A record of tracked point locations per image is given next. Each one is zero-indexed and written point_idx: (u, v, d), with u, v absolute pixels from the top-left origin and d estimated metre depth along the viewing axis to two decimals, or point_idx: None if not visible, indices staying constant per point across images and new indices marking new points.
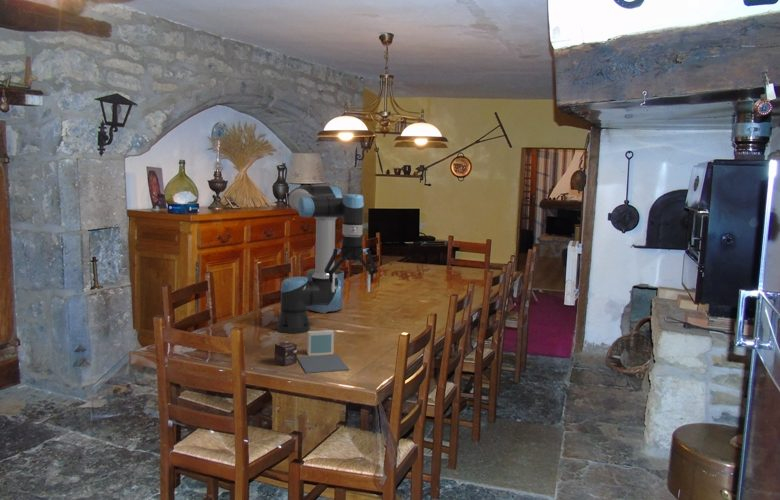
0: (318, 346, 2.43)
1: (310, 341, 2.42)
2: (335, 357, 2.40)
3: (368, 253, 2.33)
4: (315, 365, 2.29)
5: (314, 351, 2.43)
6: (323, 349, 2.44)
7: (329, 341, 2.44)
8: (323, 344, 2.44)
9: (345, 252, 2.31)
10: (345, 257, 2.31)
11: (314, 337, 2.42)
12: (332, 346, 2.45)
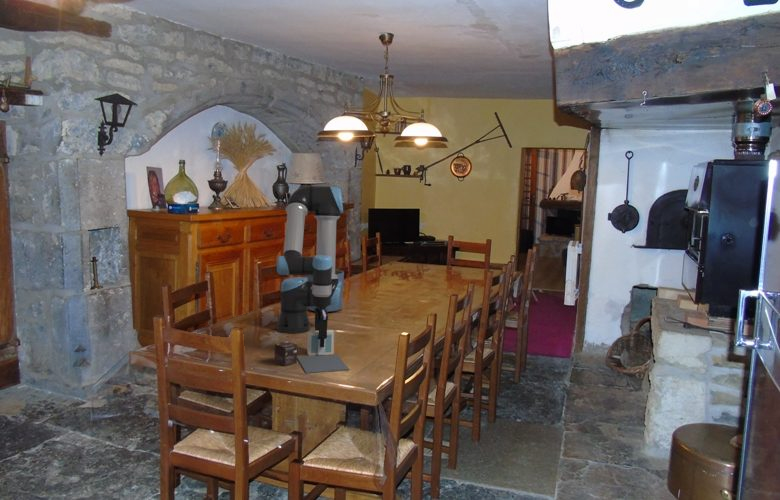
0: None
1: (310, 341, 2.42)
2: (335, 357, 2.40)
3: (321, 318, 2.38)
4: (315, 365, 2.29)
5: (314, 351, 2.43)
6: None
7: (329, 341, 2.44)
8: None
9: (317, 308, 2.45)
10: (315, 315, 2.44)
11: (314, 337, 2.42)
12: (332, 346, 2.45)
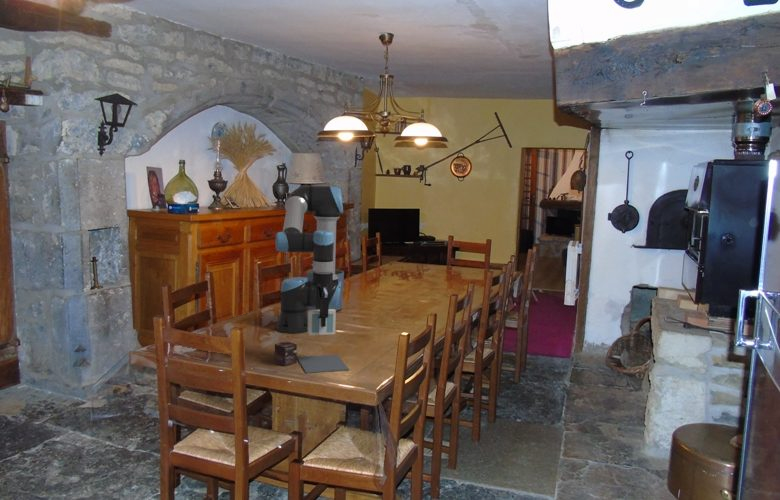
0: None
1: (311, 320, 2.30)
2: (335, 357, 2.40)
3: (322, 296, 2.27)
4: (315, 365, 2.29)
5: (315, 331, 2.31)
6: None
7: (331, 320, 2.33)
8: None
9: (318, 286, 2.33)
10: (316, 293, 2.33)
11: (315, 316, 2.31)
12: (334, 326, 2.34)
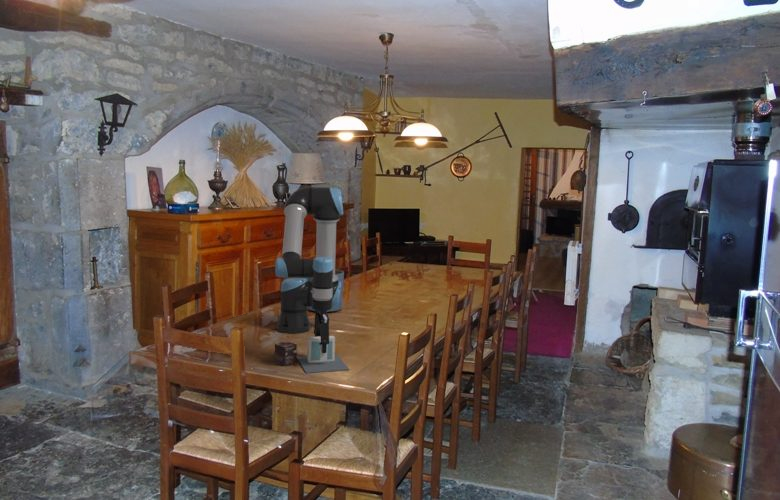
0: (318, 353, 2.33)
1: (310, 347, 2.32)
2: (335, 357, 2.40)
3: (322, 321, 2.27)
4: (315, 365, 2.29)
5: (314, 358, 2.33)
6: None
7: (330, 347, 2.34)
8: None
9: (317, 312, 2.35)
10: (316, 319, 2.35)
11: (314, 343, 2.32)
12: (333, 353, 2.35)
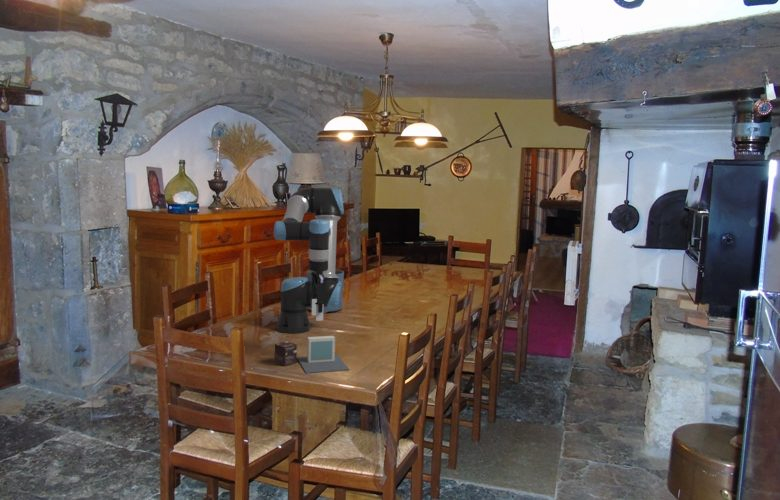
0: (318, 353, 2.33)
1: (310, 347, 2.32)
2: (335, 357, 2.40)
3: (318, 281, 2.33)
4: (315, 365, 2.29)
5: (314, 358, 2.33)
6: (324, 355, 2.34)
7: (330, 347, 2.34)
8: (324, 350, 2.34)
9: (314, 274, 2.41)
10: (312, 280, 2.40)
11: (314, 343, 2.32)
12: (333, 353, 2.35)
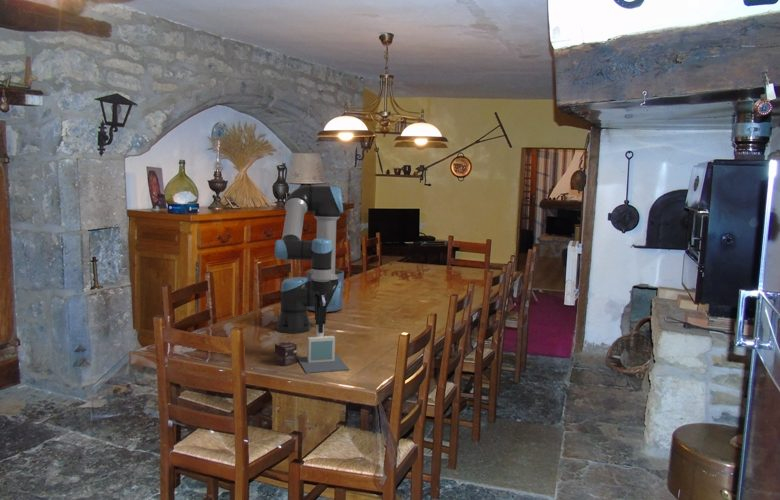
0: (318, 353, 2.33)
1: (310, 347, 2.32)
2: (335, 357, 2.40)
3: (320, 304, 2.30)
4: (315, 365, 2.29)
5: (314, 358, 2.33)
6: (324, 355, 2.34)
7: (330, 347, 2.34)
8: (324, 350, 2.34)
9: (316, 293, 2.36)
10: (315, 301, 2.35)
11: (314, 343, 2.32)
12: (333, 353, 2.35)
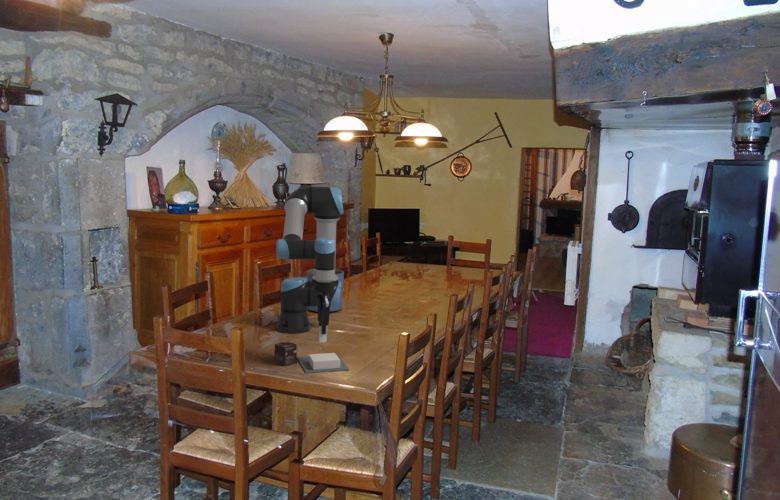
0: None
1: None
2: None
3: (323, 305, 2.25)
4: None
5: None
6: None
7: None
8: None
9: (319, 294, 2.32)
10: (318, 302, 2.31)
11: None
12: None
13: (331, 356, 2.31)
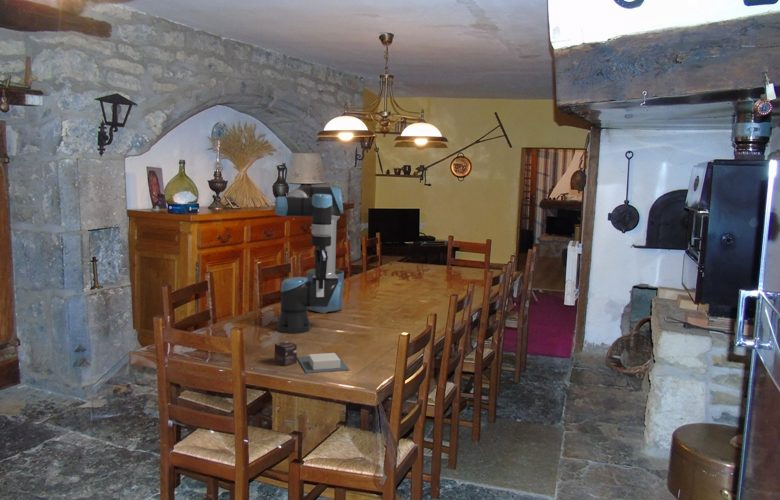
0: None
1: None
2: None
3: (320, 259, 2.29)
4: None
5: None
6: None
7: None
8: None
9: (316, 249, 2.35)
10: (315, 257, 2.35)
11: None
12: None
13: (331, 356, 2.31)
